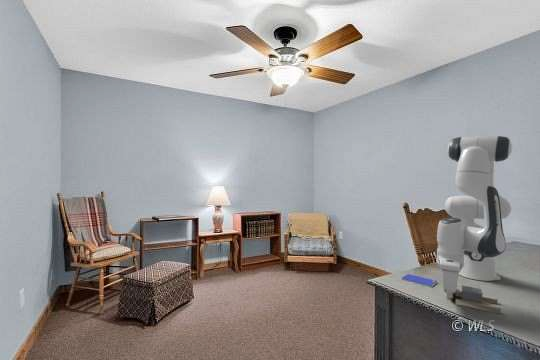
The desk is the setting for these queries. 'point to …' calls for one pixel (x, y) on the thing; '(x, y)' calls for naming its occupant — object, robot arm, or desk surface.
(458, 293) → the cradle
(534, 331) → the desk surface
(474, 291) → the block
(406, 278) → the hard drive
